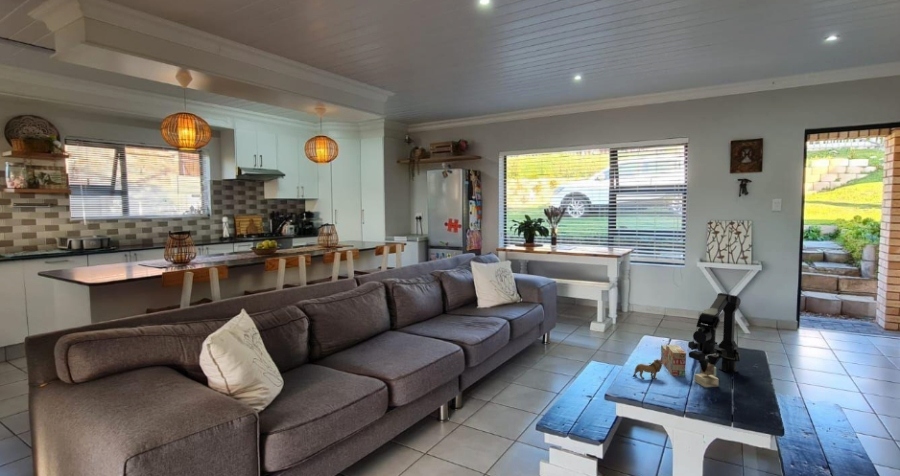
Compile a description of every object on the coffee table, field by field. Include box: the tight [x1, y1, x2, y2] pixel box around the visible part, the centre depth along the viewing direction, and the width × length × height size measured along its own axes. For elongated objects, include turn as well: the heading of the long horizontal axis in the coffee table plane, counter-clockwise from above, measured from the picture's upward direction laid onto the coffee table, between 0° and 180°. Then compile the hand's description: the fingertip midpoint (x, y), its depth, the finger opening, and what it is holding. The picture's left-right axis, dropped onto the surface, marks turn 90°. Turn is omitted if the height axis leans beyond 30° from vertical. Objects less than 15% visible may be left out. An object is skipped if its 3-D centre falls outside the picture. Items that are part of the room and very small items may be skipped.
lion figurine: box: [632, 358, 663, 380], centre depth 224 cm, size 15×5×9 cm, turn 94°
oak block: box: [694, 373, 720, 388], centre depth 216 cm, size 7×7×4 cm
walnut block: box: [699, 362, 715, 375], centre depth 216 cm, size 4×4×4 cm
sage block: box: [713, 366, 717, 377], centre depth 227 cm, size 4×4×4 cm
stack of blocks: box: [660, 344, 687, 378], centre depth 236 cm, size 21×6×12 cm, turn 169°
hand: (706, 371), depth 216 cm, fingers closed on walnut block, 4 cm apart
